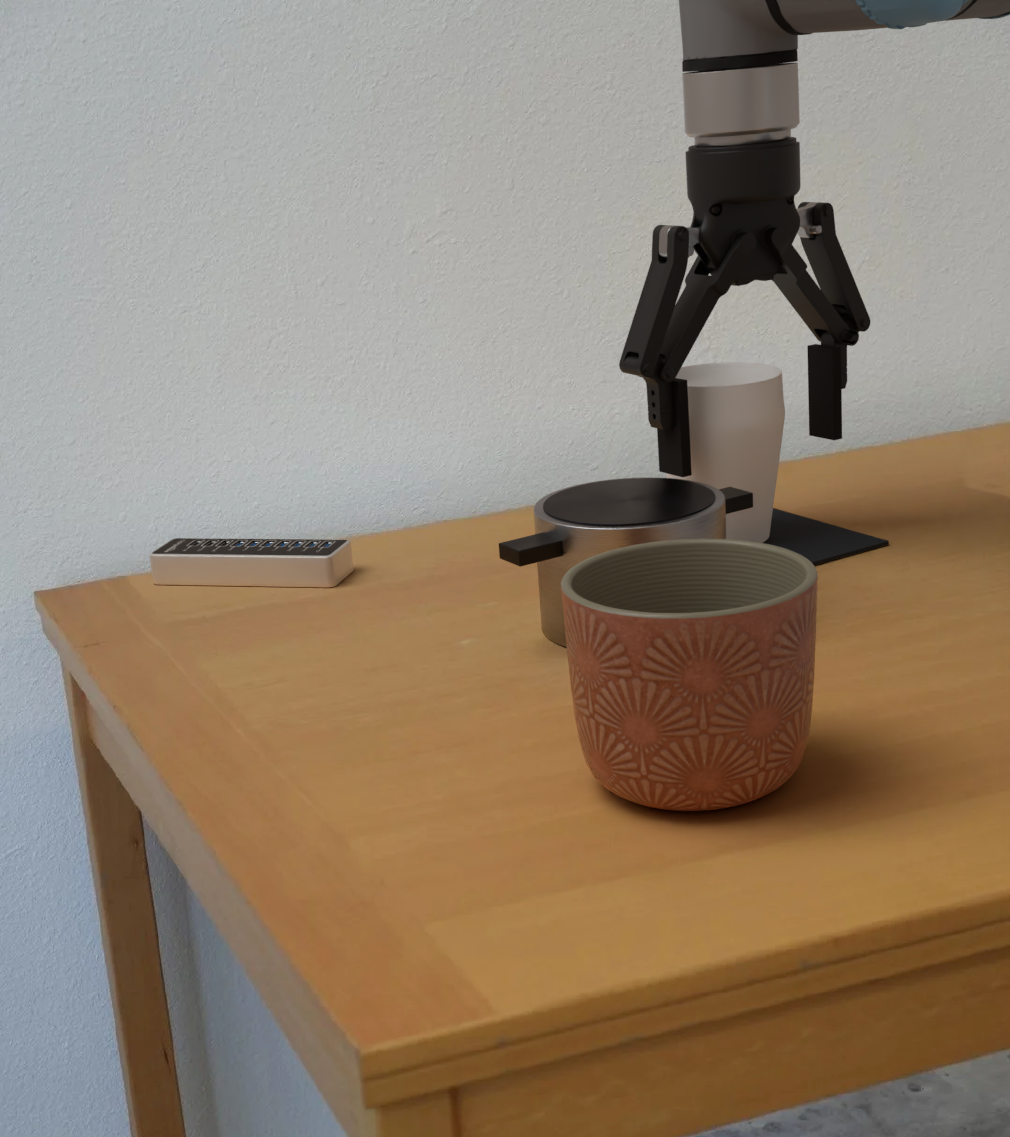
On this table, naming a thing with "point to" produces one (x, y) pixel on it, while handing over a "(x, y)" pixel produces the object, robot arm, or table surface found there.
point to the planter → (692, 669)
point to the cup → (737, 436)
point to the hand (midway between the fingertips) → (752, 455)
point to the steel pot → (614, 528)
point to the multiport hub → (252, 562)
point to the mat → (817, 538)
